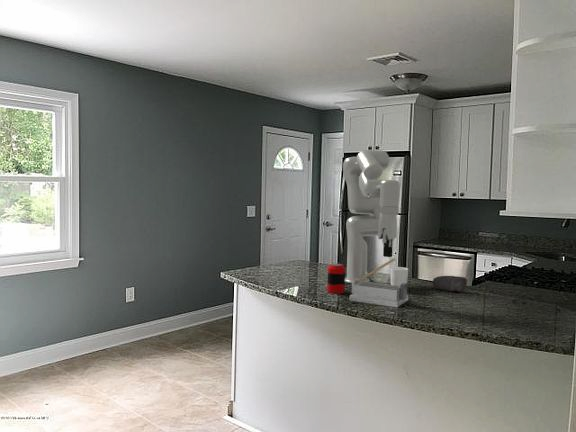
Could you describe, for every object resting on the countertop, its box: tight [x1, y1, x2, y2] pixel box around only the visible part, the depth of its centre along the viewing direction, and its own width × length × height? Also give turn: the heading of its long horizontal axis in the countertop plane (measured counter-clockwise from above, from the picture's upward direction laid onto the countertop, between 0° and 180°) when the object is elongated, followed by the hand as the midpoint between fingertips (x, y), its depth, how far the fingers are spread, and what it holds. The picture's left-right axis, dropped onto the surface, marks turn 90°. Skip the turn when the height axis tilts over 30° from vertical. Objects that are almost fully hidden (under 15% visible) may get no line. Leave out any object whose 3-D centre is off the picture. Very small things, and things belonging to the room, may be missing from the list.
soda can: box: [326, 263, 346, 295], centre depth 215 cm, size 8×8×12 cm
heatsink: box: [349, 278, 409, 308], centre depth 201 cm, size 14×22×8 cm, turn 60°
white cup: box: [389, 266, 409, 286], centre depth 220 cm, size 8×8×10 cm
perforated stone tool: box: [431, 275, 468, 293], centre depth 222 cm, size 15×5×7 cm, turn 54°
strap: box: [356, 258, 396, 283], centre depth 201 cm, size 4×18×1 cm
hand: (387, 256), depth 198 cm, fingers closed
